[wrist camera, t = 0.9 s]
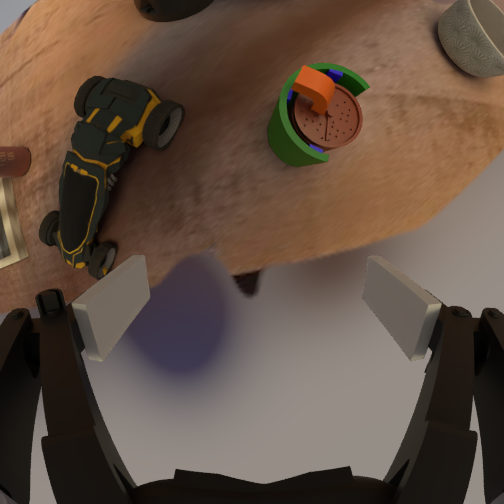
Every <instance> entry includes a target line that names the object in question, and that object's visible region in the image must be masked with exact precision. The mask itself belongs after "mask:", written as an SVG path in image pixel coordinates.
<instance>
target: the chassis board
mask: <svg viewBox="0 0 504 504" xmlns="http://www.w3.org/2000/svg"><path fill="white" fill-rule="evenodd" d="M28 256H29V255H28V252H27V248H26V245H25V241H24V237H23V234H22V230H21V225H20V221H19V217H18V212H17V207H16V202H15V197H14V191H13V184H12V177H8V178H0V268H2V267H5V266H7V265H10V264H12V263H15V262H17V261H20V260H22V259H24V258H26V257H28Z"/></svg>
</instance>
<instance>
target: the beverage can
mask: <svg viewBox="0 0 504 504" xmlns="http://www.w3.org/2000/svg"><path fill="white" fill-rule="evenodd" d="M29 165H30V153H29V151H28V149H27V148H25V147H0V178H8V177H17V176H22V175H24V174H25V173H26V172H27V170H28V168H29Z"/></svg>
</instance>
